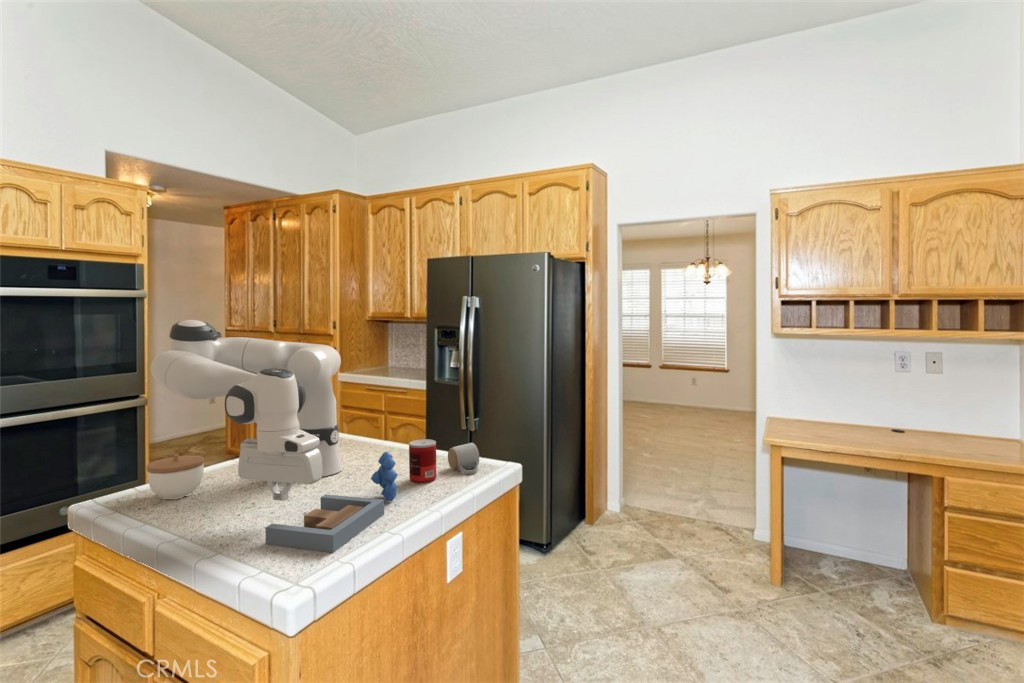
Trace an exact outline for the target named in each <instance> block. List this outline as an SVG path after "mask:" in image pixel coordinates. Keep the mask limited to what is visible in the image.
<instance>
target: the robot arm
mask: <svg viewBox="0 0 1024 683" xmlns="http://www.w3.org/2000/svg"><path fill="white" fill-rule="evenodd" d="M168 337H169V338H170V340H169V347H168V348H169V349H168V350H166V351H163V352H161V353H159V354H158V355H156V356H155V358H153V360H152V362H151V365H150V373H151V374H150V375H151V377H152V378H153V380H155V381H156V382H157V383H158V384H159V385H160V386H162V387H163V388H164V389H166V390H167V391H169V392H171V393H172V394H174V395H177V396H179V397H181V398H185V399H190V400H207V399H208V400H209V399H215V398H223V397H225V398H224V410H225V413H226V415H227V417H228V418H229V419H230V420H231V421H233V422H234V423H236V424H238V425H241V424H242V425H249V424H256V438H251V437H250V438H249V437H247V438H245V439H244V440H243V441H242V442H241V443H240V445H239V448H240V453H239V456H238V457H239V458H238V464H237V466H238V468H237V471H238V472H237V473H238V474H237V475H238V476H239V478H240V479H241V480H249V481H263V482H267V487H268V489H269V491H270V492H271V493H272V500H273V501H279V502H280V501H281V502H282V501H283V502H285V501H287V500H289V497H290V496H289V495H290V494H289V492H290V490H291V488H292V486H293V484H298V485H299V484H300V485H308V486H309V485H310V486H311V485H313V484H316V483H317V482H319V481H320V480H321V479H322V477H327V476H332V475H335V474H338V473H340V472H341V471H343V470H344V466H343V463H342V459H341V454H340V448H339V433H340V432H339V424H338V423H337V422H338V421H337V420H338V419H337V418H338V417H337V416H338V415H337V399H336V396H335V393H334V389H333V384H332V377H333V376H334V375H335V374H336V373H338V370H340V367H341V364H342V359H341V357H342V356H341V355H340V353H339V351H337V350H336V349H335V348H334V347H332V346H330V345H327V344H326V345H325V344H322V343H321V344H319V343H311V342H310V343H309V342H297V341H295V342H294V341H282V340H273V339H265V338H255V337H244V336H239V337H237V336H235V337H233V336H231V337H229V336H228V337H223V334H222V333H221V332H220V331H217V330H216V328H215V327H213V326H212V325H211V324H209V322H205V321H201V320H197V319H186V320H182V321H178V322H176V323H173V325H172V326H171V328H170V332H169V336H168ZM279 483H280V486H281V487H282V489H281V488H280V487H279Z"/></svg>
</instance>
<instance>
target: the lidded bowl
mask: <svg viewBox="0 0 1024 683" xmlns="http://www.w3.org/2000/svg"><path fill="white" fill-rule="evenodd" d="M204 463H205V458H204V456H201V455H189V454H188V455H180V454H179V453H175V454H172V456H170V457H165V458H161V459H158V460H154V461H152V462H149V463H148V464H147V465H146V472H147V481H148V484H149V488H150V490H151V491H152V493H154V494H155V495H156V496H158V497H160V499H161V498H162V499H161V500H163V499H174V500H178V499H177V498H180V499H182V498H181V497H184V496H187V495H189V494H191V493H193V494H194V491H196V490H197V488H198V487H199V486H200V484H201V483H202V481H203V476H204V468H205V465H204ZM191 495H192V494H191ZM187 497H188V496H187ZM184 498H185V497H184Z"/></svg>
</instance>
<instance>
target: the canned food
mask: <svg viewBox="0 0 1024 683" xmlns="http://www.w3.org/2000/svg"><path fill="white" fill-rule="evenodd" d="M408 460H409V462H408V464H409V466H408V468H409V471H408V472H409V473H408V474H409V481H410V482H411V483H413V484H417V483H418V484H419V483H424V484H429V483H432V482H434V481H436V479H437V441H436V440H434V439H429V438H428V439H427V438H424V439H422V438H421V439H415V440H412V441H410V442H409V443H408ZM428 482H429V483H428ZM419 485H420V484H419Z"/></svg>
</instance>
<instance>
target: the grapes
mask: <svg viewBox="0 0 1024 683" xmlns="http://www.w3.org/2000/svg"><path fill="white" fill-rule="evenodd" d="M393 458H394V457H393V455H392V454H391V453H390V452H389V451H384V452H383V453H382V454H381V456H380V457H379V459H378V461H377V462H378V463H379V465H380V466H379V468H378V469H377V470H376V471H375V472H373V474H372V475H371V477H370V480H371V481H372V482H373V483H374V484H376V485H379V486H380V487H381V488H382V489H383V490H382V491H381V495H382V496H383V497H384V498H385V500H387V501H388V502H392V501H394V499H395V498H396V496H397V491H398V489H399V486H398V485H397V483H395V481H396V480H397V478H398V476H399V474H398V473H397V472H396V471H395V470H394V468H395V465H396V462H395V460H394V459H393Z"/></svg>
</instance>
